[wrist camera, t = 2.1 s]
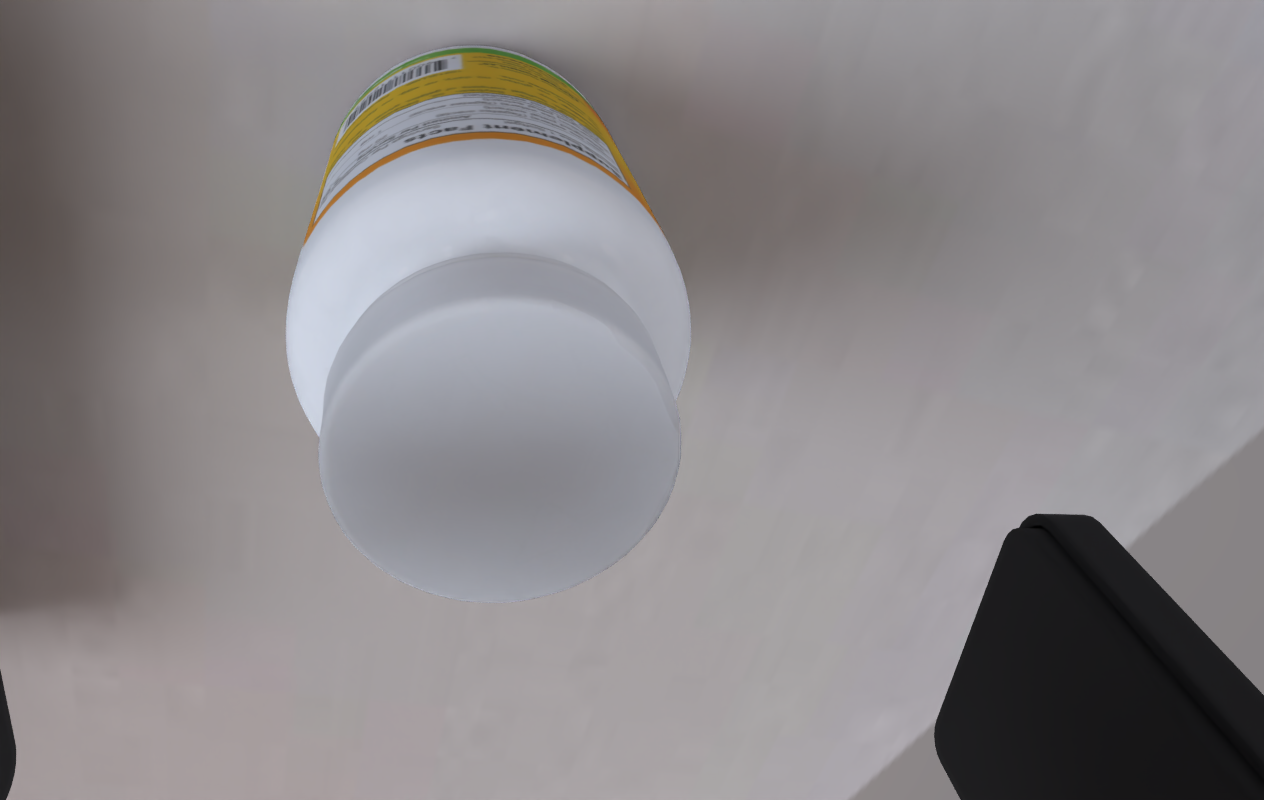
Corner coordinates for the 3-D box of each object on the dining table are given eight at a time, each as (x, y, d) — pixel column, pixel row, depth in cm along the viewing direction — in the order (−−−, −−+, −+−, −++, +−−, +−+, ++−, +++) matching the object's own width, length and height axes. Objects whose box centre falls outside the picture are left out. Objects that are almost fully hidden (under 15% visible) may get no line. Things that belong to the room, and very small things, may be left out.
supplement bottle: (566, 342, 21) (648, 681, 13) (302, 275, 20) (205, 614, 11) (657, 94, 19) (826, 314, 11) (367, -6, 17) (306, 163, 9)
